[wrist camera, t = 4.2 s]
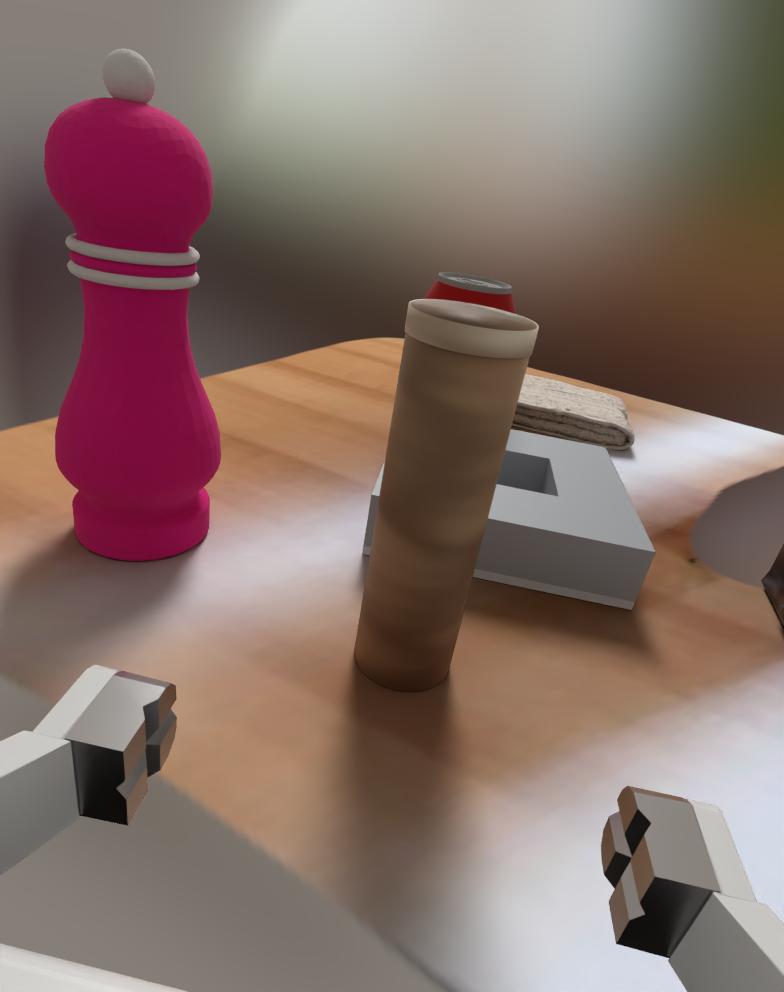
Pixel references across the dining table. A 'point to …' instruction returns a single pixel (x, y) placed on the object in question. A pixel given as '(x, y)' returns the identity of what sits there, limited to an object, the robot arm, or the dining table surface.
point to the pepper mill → (133, 320)
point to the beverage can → (472, 291)
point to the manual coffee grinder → (776, 584)
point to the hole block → (559, 523)
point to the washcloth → (573, 413)
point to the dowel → (438, 484)
